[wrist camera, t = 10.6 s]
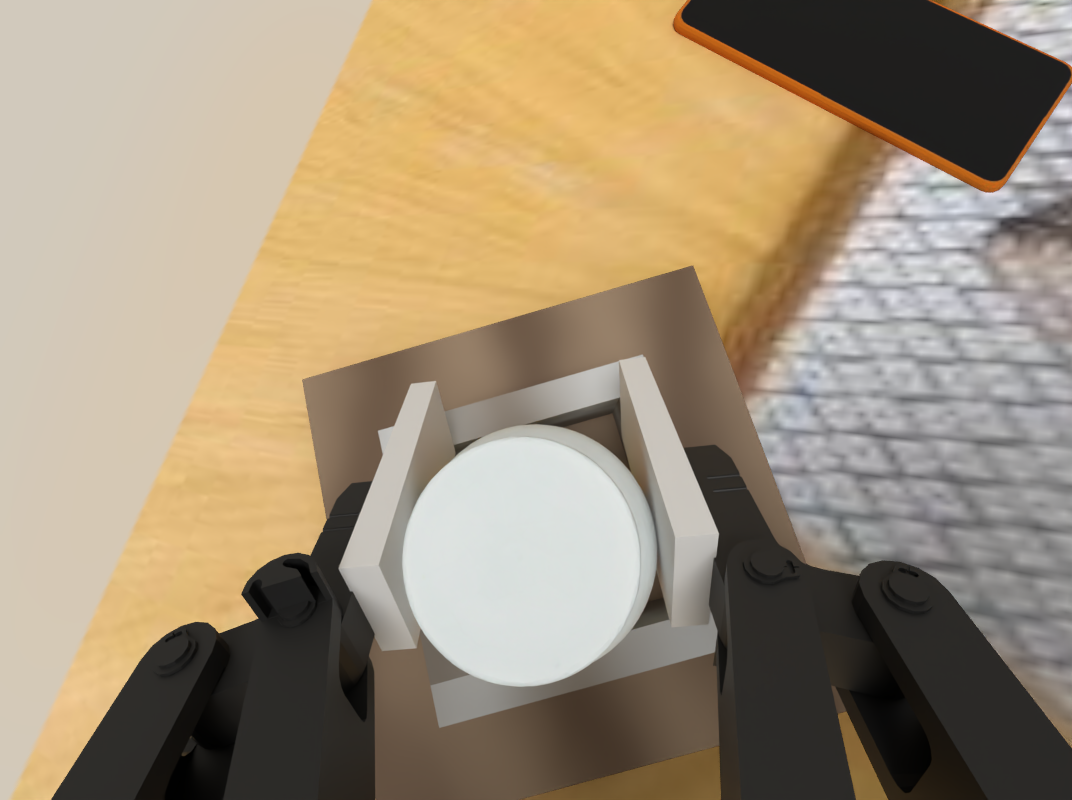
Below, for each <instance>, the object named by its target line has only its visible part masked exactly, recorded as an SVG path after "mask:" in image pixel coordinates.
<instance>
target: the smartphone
mask: <svg viewBox="0 0 1072 800" xmlns="http://www.w3.org/2000/svg"><path fill="white" fill-rule="evenodd" d="M674 28H675V30H676V32H678V33H679V34H680V35H682V36H684V37H686V38H688V39H690V40H692V41H694V42H696V43H698V44H700V45H702V46H704V47H705V48H707V49H709V50H711V51H713V52H715V53H717V54H719V55H721V56H723V57H725V58H727V59H729V60H730V61H732V62H734V63H736V64H738V65H740V66H742V67H744V68H746V69H748V70H750V71H752V72H754V73H755V74H757V75H759V76H761V77H763V78H765V79H767V80H769V81H771V82H773V83H775V84H777V85H779V86H781V87H782V88H784V89H786V90H788V91H790V92H792V93H794V94H796V95H798V96H800V97H802V98H804V99H806V100H807V101H809V102H811V103H813V104H815V105H817V106H819V107H821V108H823V109H825V110H827V111H829V112H831V113H832V114H834V115H836V116H838V117H840V118H842V119H844V120H846V121H848V122H850V123H852V124H854V125H856V126H858V127H859V128H861V129H863V130H865V131H867V132H869V133H871V134H873V135H875V136H877V137H879V138H881V139H883V140H884V141H886V142H888V143H890V144H892V145H894V146H896V147H898V148H900V149H902V150H904V151H906V152H908V153H909V154H911V155H913V156H915V157H917V158H919V159H921V160H923V161H925V162H927V163H929V164H931V165H933V166H935V167H936V168H938V169H940V170H942V171H944V172H946V173H948V174H950V175H952V176H954V177H956V178H958V179H960V180H961V181H963V182H965V183H967V184H969V185H971V186H973V187H975V188H977V189H979V190H981V191H984V192H995V191H997V190H999V189H1000V188H1002V187H1003V186H1004V184H1005V183H1006V182H1007V180H1008V179H1009V177H1010V176H1011V174H1012V173H1013V171H1014V170H1015V168H1016V167H1017V165H1018V164H1019V162H1020V161H1021V159H1022V158H1023V156H1024V154H1025V153H1026V151H1027V150H1028V148H1029V147H1030V145H1031V144H1032V142H1033V141H1034V139H1035V138H1036V136H1037V135H1038V133H1039V132H1040V130H1041V129H1042V127H1043V126H1044V124H1045V123H1046V121H1047V120H1048V118H1049V117H1050V115H1051V114H1052V112H1053V111H1054V109H1055V108H1056V106H1057V105H1058V103H1059V102H1060V100H1061V99H1062V97H1063V96H1064V94H1065V93H1066V91H1067V90H1068V88H1069V87H1070V85H1071V84H1072V67H1071V66H1070V65H1069V64H1067V63H1066V62H1064V61H1061V60H1059V59H1057V58H1055V57H1053V56H1051V55H1048V54H1046V53H1044V52H1042V51H1040V50H1038V49H1035V48H1033V47H1031V46H1029V45H1027V44H1025V43H1022V42H1020V41H1018V40H1016V39H1014V38H1012V37H1010V36H1007V35H1005V34H1003V33H1001V32H999V31H997V30H994V29H992V28H990V27H988V26H986V25H984V24H981V23H979V22H977V21H975V20H973V19H971V18H968V17H966V16H964V15H962V14H960V13H958V12H955V11H953V10H951V9H949V8H947V7H945V6H943V5H940V4H938V3H936V2H934V1H932V0H687V1H686V3H685V4H684V6H682V8H681V9H680V10H679V11H678V13H677V14H676V16H675V18H674Z"/></svg>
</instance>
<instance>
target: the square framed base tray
mask: <svg viewBox="0 0 1072 800" xmlns="http://www.w3.org/2000/svg"><path fill="white" fill-rule="evenodd" d="M642 357H645V358H646V360H647V363H648V365H649V367H650V370H651V372H652V374H653V377H654V379H655V382H656V384H657V386H658V389H659V391H660V394H661V396H662V398H663V401H664V403H665V406H666V408H667V410H668V413H669V415H670V418H671V420H672V422H673V425H674V427H675V430H676V432H677V434H678V437H679V439H680V442H681V444H682V446H683V448H686V447H696V446H706V445H716V446H718V447H719V448H720V449H721V450H723V451H724V452H725V453H726V454H728V455H729V456H730V457H731V458H732V460H733V462H734V463H735V465H736V467H737V469H738V471H739V473H740V477H742V478H743V480H744V482H745V484H746V486H747V490H749V491H750V493H751V495H752V497H753V499H754V501H755V503H756V505H757V506H758V508H759V510H760V512H761V514H762V516H763V518H764V519H765V521H766V523H767V525H768V527H769V529H770V531H771V533H772V534H773V536H774V538H775V540H776V541H777V542H778V544H779V545H781V546H782V547H784V548H786V549H788V550H790V551H791V552H792V553H793V554H794V555H795V556H796V557H797V558H798V559H799V560H800V561H801V562H803V563H805V564H806V561H805V559H804V556H803V553H802V551H801V548H800V546H799V543H798V540H797V538H796V535H795V532H794V530H793V527H792V524H791V522H790V519H789V517H788V514H787V511H786V509H785V506H784V503H783V501H782V498H781V496H780V493H779V490H778V488H777V485H776V482H775V480H774V477H773V475H772V472H771V469H770V467H769V464H768V461H767V459H766V456H765V453H764V451H763V448H762V446H761V443H760V440H759V438H758V435H757V432H756V430H755V427H754V425H753V422H752V419H751V417H750V414H749V411H748V409H747V406H746V404H745V401H744V398H743V396H742V393H741V390H740V388H739V385H738V383H737V380H736V377H735V375H734V372H733V369H732V367H731V364H730V361H729V359H728V356H727V354H726V351H725V348H724V346H723V343H722V340H721V338H720V335H719V333H718V330H717V327H716V325H715V322H714V319H713V317H712V314H711V312H710V309H709V306H708V304H707V301H706V298H705V296H704V293H703V290H702V288H701V285H700V283H699V280H698V277H697V275H696V272H695V269H694V267H693V266H690V267H686V268H683V269H679V270H676V271H672V272H669V273H666V274H662V275H659V276H655V277H652V278H648V279H645V280H642V281H638V282H635V283H631V284H628V285H624V286H621V287H618V288H614V289H611V290H607V291H604V292H600V293H597V294H594V295H590V296H587V297H583V298H580V299H577V300H573V301H570V302H566V303H563V304H559V305H556V306H553V307H549V308H546V309H542V310H539V311H535V312H532V313H529V314H525V315H522V316H518V317H515V318H511V319H508V320H505V321H501V322H498V323H494V324H491V325H487V326H484V327H481V328H477V329H474V330H470V331H467V332H464V333H460V334H457V335H453V336H450V337H446V338H443V339H440V340H436V341H433V342H429V343H426V344H422V345H419V346H416V347H412V348H409V349H405V350H402V351H398V352H395V353H392V354H388V355H385V356H381V357H378V358H374V359H371V360H368V361H364V362H361V363H357V364H354V365H350V366H347V367H344V368H340V369H337V370H333V371H330V372H327V373H323V374H320V375H316V376H313V377H309V378H306V379H303V380H302V382H303V387H304V393H305V399H306V404H307V410H308V416H309V421H310V427H311V433H312V439H313V444H314V450H315V456H316V461H317V467H318V473H319V479H320V484H321V490H322V496H323V501H324V507H325V513H326V518H327V519H329V515H330V512H331V510H332V508H333V506H334V504H335V502H336V499H337V498H338V497H339V496H340V495H341V494H342V493H343V492H344V491H345V490H346V488H347V487H348V486H349V485H350V484H351V483H357V482H367V481H373V479H374V477H375V474H376V472H377V469H378V466H379V464H380V461H381V459H382V456H383V454H384V451H385V449H386V446H387V443H388V441H389V438H390V436H391V433H392V431H393V428H394V426H395V423H396V421H397V418H398V415H399V413H400V410H401V408H402V405H403V403H404V400H405V398H406V395H407V393H408V390H409V387H410V385H411V384H414V383H422V382H431V381H436V383H437V386H438V390H439V394H440V397H441V401H442V405H443V408H444V412H445V415H446V419H447V423H448V426H449V430H450V434H451V437H452V441H453V445H454V448H455V452H456V453H455V456H456V455H457V454H459V453H460V452H461V451H462V450H463V449H465V448H466V447H467V446H469V445H470V444H472V443H473V442H475V441H476V440H478V439H480V438H482V437H484V436H486V435H488V434H491V433H493V432H495V431H498V430H502V429H505V428H509V427H513V426H519V425H531V424H540V425H551V426H557V427H562V428H566V429H569V430H572V431H576V432H578V433H581V434H583V435H585V436H587V437H589V438H591V439H593V440H594V441H596V442H598V443H600V444H601V445H602V446H604V447H605V448H607V449H608V450H609V451H610V452H611V453H613V454H614V455H615V456H616V457H617V458H618V459H619V460H620V461H621V462H622V463H623V464H624V465H625V466H626V467H627V469H628V470H629V471H630V472H631V470H630V466H629V462H628V458H627V454H626V450H625V446H624V443H623V439H622V433H621V406H620V378H619V360H624V359H633V358H642ZM717 632H718V631H717V628H716V625H715V622H714V619H713V616H712V613H711V610H710V616H709V624H708V625H696V626H683V627H671V624H670V620H669V616H668V613H667V609H666V605H665V601H664V597H663V593H662V589H661V586H660V582H659V578H658V574H657V570H656V574H655V579H654V583H653V587H652V590H651V593H650V596H649V599H648V602H647V604H646V606H645V608H644V610H643V612H642V614H641V616H640V617H639V619H638V621H637V622H636V624H635V625H634V626H633V628H632V629H631V630H630V632H629V633H628V634H627V635H626V637H625V638H624V639H623V640H622V641H621V642H620V643H619V644H618V645H616V646H615V647H614V648H613V649H612V650H611V651H610V652H608V653H607V654H605V655H604V656H602V657H601V658H600V659H598V660H596V661H594V662H593V663H591V664H590V665H589V666H587V667H586V668H584V669H583V670H581V671H579V672H577V673H575V674H574V675H572V676H569V677H567V678H564V679H562V680H559V681H556V682H553V683H549V684H545V685H539V686H525V687H516V686H507V685H499V684H495V683H491V682H487V681H484V680H482V679H479V678H477V677H474V676H472V675H470V674H468V673H466V672H465V671H463V670H461V669H459V668H458V667H456V666H455V665H454V664H452V663H451V662H450V661H449V660H447V659H446V658H445V657H444V656H443V655H442V654H441V653H440V652H439V651H438V650H437V649H436V648H435V647H434V646H433V644H432V643H431V642H430V641H429V640H428V639H427V637H426V636H425V634H424V633H423V631H422V629H420V634H419V639H418V644H417V648H414V649H402V650H390V651H382V650H381V648H380V646H379V645H378V643H377V641H376V639H375V637H374V639H373V643H372V646H371V650H370V653H369V657H370V659H371V661H372V664H373V668H374V681H375V798H376V800H520V799H524V798H527V797H531V796H535V795H538V794H542V793H546V792H550V791H553V790H557V789H561V788H564V787H568V786H572V785H575V784H579V783H583V782H586V781H590V780H594V779H598V778H601V777H605V776H609V775H612V774H616V773H620V772H623V771H627V770H631V769H635V768H638V767H642V766H646V765H649V764H653V763H657V762H660V761H664V760H668V759H672V758H675V757H679V756H683V755H686V754H690V753H694V752H697V751H701V750H705V749H709V748H712V747H716V746H719V721H718V693H717V666H713V662H714V654H715V647H716V639H717ZM831 687H832V692H833V696H834V701H835V706H836V710H837V714H838V713H842V712H845V711H846V709H845V706H844V704H843V702H842V700H841V698H840V696H839V694H838V692H837V689H836V687H835V686H831Z"/></svg>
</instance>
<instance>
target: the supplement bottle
mask: <svg viewBox="0 0 1072 800" xmlns="http://www.w3.org/2000/svg"><path fill="white" fill-rule="evenodd" d="M656 567H657V536H656V529H655V525H654V520H653V516H652V513H651V509H650V507H649V504H648V502H647V499H646V497H645V495H644V493H643V491H642V489H641V487H640V486H639V484H638V482H637V481H636V479H635V478H634V476H633V475H632V473H631V472H630V471H629V470H628V469H627V467H626V466H625V465H624V464H623V463H622V462H621V461H620V460H619V459H618V458H617V457H616V456H615V455H614V454H613V453H611V452H610V451H609V450H608V449H607V448H605V447H604V446H602V445H601V444H600V443H598V442H596V441H594V440H593V439H591V438H589V437H587V436H585V435H583V434H581V433H578V432H576V431H572V430H569V429H566V428H562V427H557V426H551V425H540V424H531V425H519V426H513V427H509V428H505V429H502V430H498V431H495V432H493V433H491V434H488V435H486V436H484V437H482V438H480V439H478V440H476V441H475V442H473V443H472V444H470V445H469V446H467V447H466V448H465V449H463V450H462V451H461V452H460V453H459V454H457V455H456V456H455V457H454V458H453V459H452V460H451V461H450V462H449V463H448V464H447V465H445V466H444V467H443V468H442V469H441V470H440V471H439V472H438V473H437V474H436V475H435V476H434V477H433V478H432V479H431V480H430V482H429V483H428V485H427V486H426V487H425V489H424V490H423V492H422V493H421V495H420V496H419V498H418V500H417V502H416V504H415V507H414V509H413V511H412V514H411V516H410V519H409V521H408V524H407V528H406V533H405V538H404V545H403V554H402V570H403V579H404V585H405V591H406V594H407V598H408V601H409V604H410V607H411V609H412V612H413V614H414V617H415V619H416V621H417V622H418V624H419V626H420V628H421V629H422V631H423V633H424V634H425V636H426V637H427V639H428V640H429V641H430V642H431V643H432V644H433V646H434V647H435V648H436V649H437V650H438V651H439V652H440V653H441V654H442V655H443V656H444V657H445V658H446V659H447V660H449V661H450V662H451V663H452V664H454V665H455V666H456V667H458V668H459V669H461V670H463V671H465V672H466V673H468V674H470V675H472V676H474V677H477V678H479V679H482V680H484V681H487V682H491V683H495V684H499V685H507V686H516V687H525V686H539V685H545V684H549V683H553V682H556V681H559V680H562V679H564V678H567V677H569V676H572V675H574V674H575V673H577V672H579V671H581V670H583V669H584V668H586V667H587V666H589V665H590V664H591V663H593V662H594V661H596V660H598V659H600V658H601V657H602V656H604V655H605V654H607V653H608V652H610V651H611V650H612V649H613V648H614V647H615V646H616V645H618V644H619V643H620V642H621V641H622V640H623V639H624V638H625V637H626V635H627V634H628V633H629V632H630V630H631V629H632V628H633V626H634V625H635V624H636V622H637V621H638V619H639V617H640V616H641V614H642V612H643V610H644V608H645V606H646V604H647V602H648V599H649V596H650V593H651V590H652V587H653V583H654V579H655V574H656Z"/></svg>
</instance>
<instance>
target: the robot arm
mask: <svg viewBox="0 0 1072 800" xmlns="http://www.w3.org/2000/svg"><path fill="white" fill-rule="evenodd" d="M619 378H620V406H621V433H622V439H623V443H624V446H625V450H626V454H627V458H628V462H629V466H630V470H631V473H632V475H633V476H634V478H635V479H636V481H637V482H638V484H639V486H640V487H641V489H642V491H643V493H644V495H645V497H646V499H647V502H648V504H649V507H650V509H651V513H652V516H653V520H654V525H655V529H656V536H657V567H656V570H657V574H658V578H659V582H660V586H661V589H662V593H663V597H664V601H665V605H666V609H667V613H668V616H669V620H670V624H671V627H683V626H696V625H708V624H709V616H710V610H711V613H712V616H713V619H714V622H715V625H716V628H717V631H718V632H717V639H716V647H715V654H714V662H713V666H717V693H718V721H719V750H720V778H721V800H856V798H855V793H854V789H853V784H852V779H851V775H850V770H849V766H848V761H847V756H846V752H845V747H844V743H843V738H842V733H841V729H840V724H839V719H838V715H837V710H836V706H835V701H834V696H833V692H832V687H831V686H835V687H836V689H837V692H838V694H839V696H840V698H841V700H842V702H843V704H844V706H845V709H846V711H847V713H848V715H849V717H850V719H851V721H852V723H853V726H854V728H855V730H856V732H857V734H858V736H859V738H860V740H861V743H862V745H863V747H864V749H865V751H866V753H867V755H868V757H869V760H870V762H871V764H872V766H873V768H874V770H875V772H876V774H877V777H878V779H879V781H880V783H881V785H882V787H883V789H884V791H885V794H886V796H887V798H888V800H1072V748H1071V747H1070V746H1069V745H1068V743H1067V742H1066V741H1065V739H1064V738H1063V737H1062V736H1061V734H1060V733H1059V732H1058V730H1057V729H1056V728H1055V727H1054V725H1053V724H1052V723H1051V721H1050V720H1049V719H1048V718H1047V716H1046V715H1045V714H1044V712H1043V711H1042V710H1041V709H1040V707H1039V706H1038V705H1037V704H1036V702H1035V701H1034V700H1033V698H1032V697H1031V696H1030V695H1029V693H1028V692H1027V691H1026V689H1025V688H1024V687H1023V686H1022V684H1021V683H1020V682H1019V680H1018V679H1017V678H1016V677H1015V675H1014V674H1013V673H1012V671H1011V670H1010V669H1009V668H1008V666H1007V665H1006V664H1005V662H1004V661H1003V660H1002V659H1001V657H1000V656H999V655H998V654H997V652H996V651H995V650H994V648H993V647H992V646H991V645H990V643H989V642H988V641H987V639H986V638H985V637H984V636H983V634H982V633H981V632H980V630H979V629H978V628H977V627H976V625H975V624H974V623H973V621H972V620H971V619H970V618H969V616H968V615H967V614H966V613H965V611H964V610H963V609H962V607H961V606H960V605H959V604H958V602H957V601H956V600H955V598H954V597H953V596H952V595H951V593H950V592H949V591H948V590H947V589H946V588H945V587H944V586H943V585H942V584H941V583H940V582H939V581H938V580H937V579H936V578H934V577H933V576H931V575H929V574H928V573H926V572H924V571H922V570H921V569H919V568H917V567H914V566H911V565H908V564H905V563H902V562H895V561H879V562H875V563H871V564H869V565H868V566H867V567H866V568H864V569H863V570H862V571H861V573H860V576H856V575H851V574H845V573H840V572H834V571H828V570H823V569H819V568H816V567H812V566H809V565H807V564H805V563H803V562H801V561H800V560H799V559H798V558H797V557H796V556H795V555H794V554H793V553H792V552H791V551H790V550H788V549H786V548H784V547H782V546H781V545H779V544H778V542H777V541H776V540H775V538H774V536H773V534H772V533H771V531H770V529H769V527H768V525H767V523H766V521H765V519H764V518H763V516H762V514H761V512H760V510H759V508H758V506H757V505H756V503H755V501H754V499H753V497H752V495H751V493H750V491H749V490H747V486H746V484H745V482H744V480H743V478H742V477H740V473H739V471H738V469H737V467H736V465H735V463H734V462H733V460H732V458H731V457H730V456H729V455H728V454H726V453H725V452H724V451H723V450H721V449H720V448H719V447H718V446H716V445H706V446H696V447H686V448H683V446H682V444H681V442H680V439H679V437H678V434H677V432H676V430H675V427H674V425H673V422H672V420H671V418H670V415H669V413H668V410H667V408H666V406H665V403H664V401H663V398H662V396H661V394H660V391H659V389H658V386H657V384H656V382H655V379H654V377H653V374H652V372H651V370H650V367H649V365H648V363H647V360H646V358H645V357H642V358H633V359H624V360H619ZM455 453H456V452H455V448H454V445H453V441H452V437H451V434H450V430H449V426H448V423H447V419H446V415H445V412H444V408H443V405H442V401H441V397H440V394H439V390H438V386H437V383H436V381H431V382H422V383H414V384H411V385H410V387H409V390H408V393H407V395H406V398H405V400H404V403H403V405H402V408H401V410H400V413H399V415H398V418H397V421H396V423H395V426H394V428H393V431H392V433H391V436H390V438H389V441H388V443H387V446H386V449H385V451H384V454H383V456H382V459H381V461H380V464H379V466H378V469H377V472H376V474H375V477H374V479H373V481H367V482H357V483H351V484H350V485H349V486H348V487H347V488H346V490H345V491H344V492H343V493H342V494H341V495H340V496H339V497H338V498H337V499H336V502H335V504H334V506H333V508H332V510H331V512H330V515H329V519H327V521H326V523H325V525H324V528H323V532H322V533H321V534H320V536H319V538H318V541H317V543H316V545H315V547H314V549H313V551H312V554H311V556H309V555H306V554H301V553H294V554H288V555H284V556H281V557H279V558H277V559H274V560H272V561H270V562H269V563H267V564H266V565H264V566H263V567H262V568H260V569H259V570H257V572H256V573H255V574H254V575H253V576H252V577H251V578H250V579H249V580H248V581H247V583H246V585H245V587H244V589H243V591H242V594H241V595H242V596H243V597H244V599H245V600H246V602H247V603H248V604H249V606H250V607H251V608H252V610H253V611H254V613H255V614H256V615H257V617H258V618H259V619H257V620H254V621H252V622H249V623H246V624H244V625H241V626H238V627H236V628H233V629H230V630H228V631H225V632H222V633H218V632H217V631H216V629H215V628H213V627H212V626H211V625H210V624H208V623H203V622H194V623H191V624H187V625H183V626H181V627H179V628H177V629H175V630H173V631H172V632H170V633H168V634H166V635H165V636H164V637H163V638H161V639H160V640H159V641H158V642H157V643H155V644H154V645H153V646H152V647H151V648H150V649H149V651H148V652H147V653H146V654H145V655H144V657H143V658H142V659H141V661H140V662H139V664H138V665H137V667H136V668H135V670H134V671H133V673H132V675H131V676H130V678H129V679H128V681H127V682H126V684H125V685H124V687H123V689H122V690H121V692H120V693H119V695H118V696H117V698H116V699H115V701H114V703H113V704H112V706H111V707H110V709H109V710H108V712H107V713H106V715H105V717H104V718H103V720H102V721H101V723H100V724H99V726H98V727H97V729H96V731H95V732H94V734H93V735H92V737H91V738H90V740H89V741H88V743H87V745H86V746H85V748H84V749H83V751H82V752H81V754H80V755H79V757H78V759H77V760H76V762H75V763H74V765H73V766H72V768H71V769H70V771H69V773H68V774H67V776H66V777H65V779H64V780H63V782H62V783H61V785H60V787H59V788H58V790H57V791H56V793H55V794H54V796H53V797H52V799H51V800H375V681H374V668H373V664H372V661H371V659H370V657H369V653H370V650H371V646H372V643H373V639H374V637H375V639H376V641H377V643H378V645H379V646H380V648H381V650H382V651H390V650H402V649H414V648H417V644H418V639H419V634H420V629H421V628H420V626H419V624H418V622H417V621H416V619H415V617H414V614H413V612H412V609H411V607H410V604H409V601H408V598H407V594H406V591H405V585H404V579H403V570H402V554H403V545H404V538H405V533H406V528H407V524H408V521H409V519H410V516H411V514H412V511H413V509H414V507H415V504H416V502H417V500H418V498H419V496H420V495H421V493H422V492H423V490H424V489H425V487H426V486H427V485H428V483H429V482H430V480H431V479H432V478H433V477H434V476H435V475H436V474H437V473H438V472H439V471H440V470H441V469H442V468H443V467H444V466H445V465H447V464H448V463H449V462H450V461H451V460H452V459H453V458H454V457H455Z"/></svg>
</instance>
